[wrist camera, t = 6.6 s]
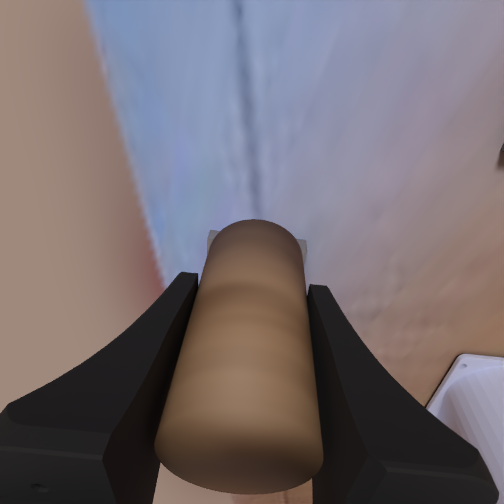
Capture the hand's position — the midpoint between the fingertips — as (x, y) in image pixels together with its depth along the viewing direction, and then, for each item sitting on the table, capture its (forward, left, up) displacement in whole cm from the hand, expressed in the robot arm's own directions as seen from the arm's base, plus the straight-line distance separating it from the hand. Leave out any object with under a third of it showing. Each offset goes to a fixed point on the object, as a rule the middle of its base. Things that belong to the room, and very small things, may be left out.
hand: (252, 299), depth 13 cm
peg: (0, 0, -2) cm, 2 cm away
